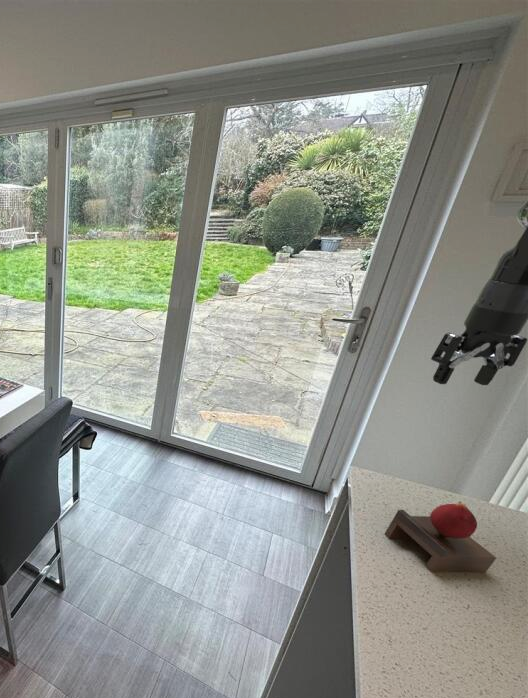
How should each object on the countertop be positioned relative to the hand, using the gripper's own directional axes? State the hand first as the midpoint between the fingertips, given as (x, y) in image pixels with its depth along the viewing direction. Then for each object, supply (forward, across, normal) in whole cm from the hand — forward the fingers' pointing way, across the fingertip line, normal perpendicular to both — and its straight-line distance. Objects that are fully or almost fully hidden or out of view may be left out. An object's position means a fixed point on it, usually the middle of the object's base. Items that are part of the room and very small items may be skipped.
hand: (459, 383), depth 84 cm
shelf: (+28, -10, -19) cm, 35 cm away
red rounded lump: (+23, -10, -19) cm, 32 cm away
